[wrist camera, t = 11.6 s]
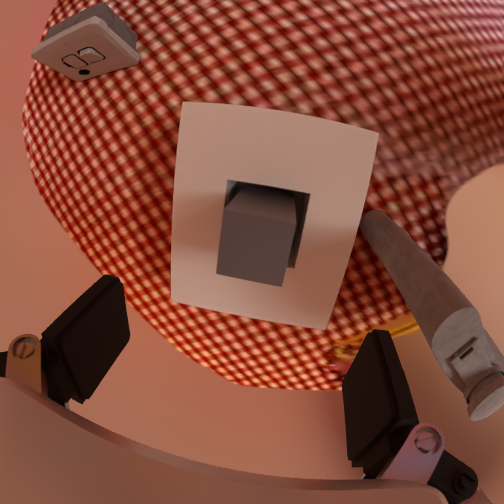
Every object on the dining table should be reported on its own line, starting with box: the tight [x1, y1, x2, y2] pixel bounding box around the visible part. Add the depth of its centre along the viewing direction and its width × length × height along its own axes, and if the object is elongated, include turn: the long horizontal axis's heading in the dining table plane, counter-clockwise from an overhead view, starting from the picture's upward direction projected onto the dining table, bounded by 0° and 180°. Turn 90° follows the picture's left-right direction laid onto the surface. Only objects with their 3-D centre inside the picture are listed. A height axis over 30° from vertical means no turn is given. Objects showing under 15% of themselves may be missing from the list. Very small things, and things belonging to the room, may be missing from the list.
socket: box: [171, 102, 379, 330], centre depth 25 cm, size 15×18×6 cm
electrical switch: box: [31, 2, 140, 81], centre depth 18 cm, size 9×5×9 cm, turn 89°
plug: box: [216, 184, 297, 287], centre depth 22 cm, size 4×4×10 cm
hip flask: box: [360, 210, 504, 421], centre depth 19 cm, size 16×4×20 cm, turn 54°
